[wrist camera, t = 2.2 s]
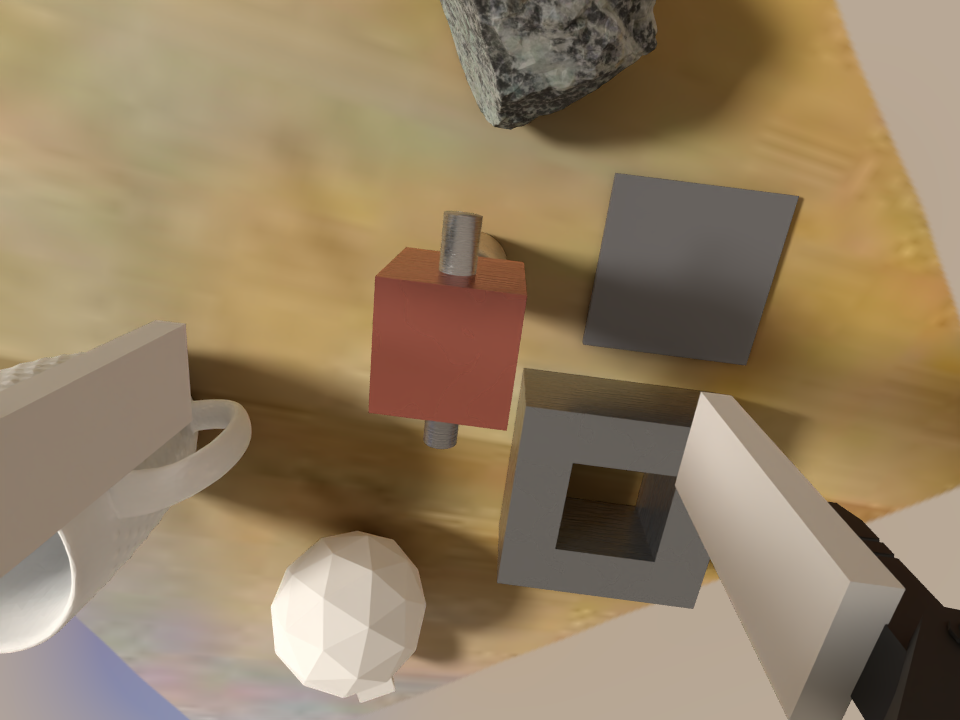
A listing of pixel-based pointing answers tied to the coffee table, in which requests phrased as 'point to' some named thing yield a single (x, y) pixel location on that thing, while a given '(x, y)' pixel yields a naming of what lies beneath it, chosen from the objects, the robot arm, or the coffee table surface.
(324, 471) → the coffee table surface
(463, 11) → the stone
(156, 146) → the coffee table surface
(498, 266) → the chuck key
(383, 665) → the perfume bottle
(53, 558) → the mug
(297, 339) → the coffee table surface
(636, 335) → the mat
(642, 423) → the block
